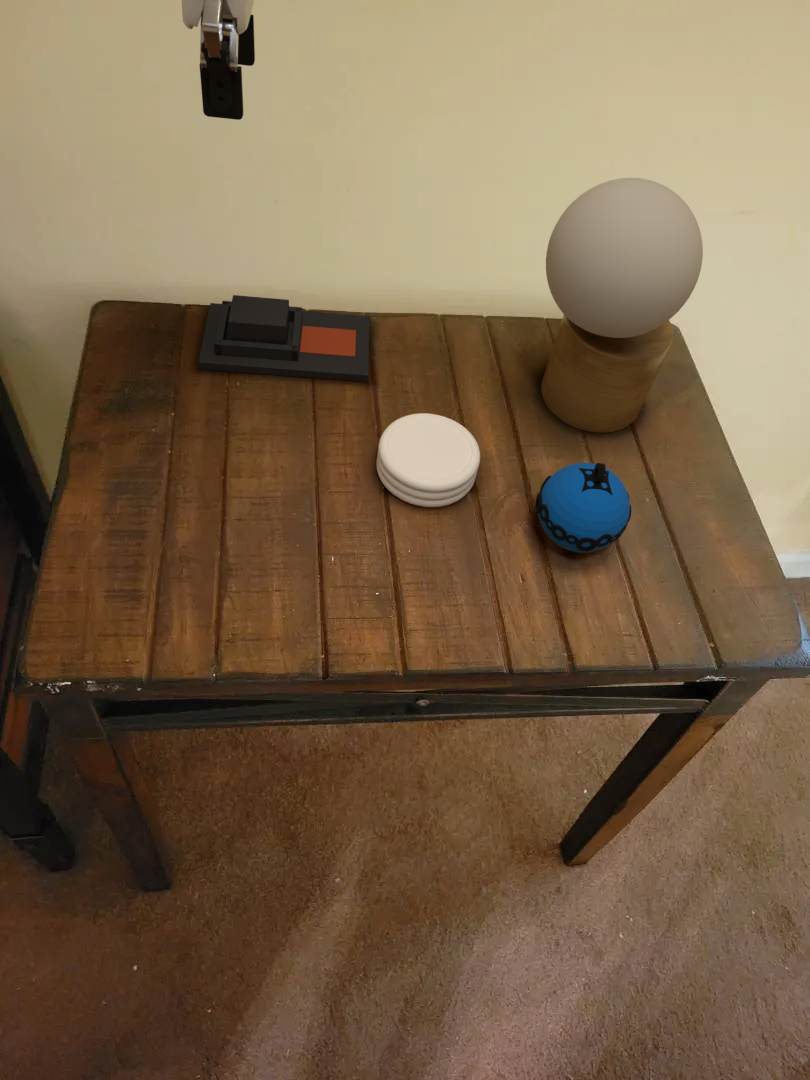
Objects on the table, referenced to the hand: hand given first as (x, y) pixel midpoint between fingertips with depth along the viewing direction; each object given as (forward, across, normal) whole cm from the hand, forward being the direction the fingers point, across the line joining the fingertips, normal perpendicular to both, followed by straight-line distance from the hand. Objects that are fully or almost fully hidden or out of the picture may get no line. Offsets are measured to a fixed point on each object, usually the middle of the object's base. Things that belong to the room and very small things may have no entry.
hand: (230, 88), depth 71 cm
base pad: (+26, +2, +5) cm, 27 cm away
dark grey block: (+25, +2, +2) cm, 25 cm away
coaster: (+26, +19, +20) cm, 38 cm away
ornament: (+26, +26, +34) cm, 50 cm away
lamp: (+26, +7, +37) cm, 46 cm away
